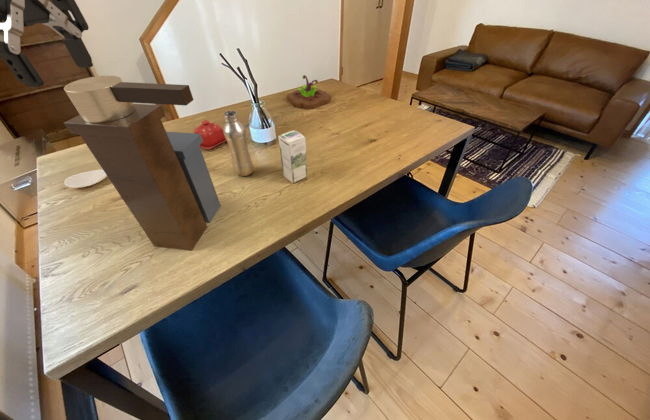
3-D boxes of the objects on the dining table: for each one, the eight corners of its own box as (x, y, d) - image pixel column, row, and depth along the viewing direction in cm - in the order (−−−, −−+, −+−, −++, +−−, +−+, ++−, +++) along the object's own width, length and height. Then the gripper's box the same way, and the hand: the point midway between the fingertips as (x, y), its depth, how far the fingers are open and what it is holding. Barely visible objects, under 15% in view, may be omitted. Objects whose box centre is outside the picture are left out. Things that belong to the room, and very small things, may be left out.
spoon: (180, 164, 94) (177, 155, 92) (68, 196, 82) (60, 187, 79) (175, 152, 100) (172, 144, 98) (69, 181, 87) (62, 172, 85)
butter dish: (208, 152, 100) (200, 131, 94) (190, 143, 105) (181, 122, 99) (233, 140, 106) (228, 119, 100) (215, 132, 111) (209, 111, 106)
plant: (312, 90, 146) (311, 67, 138) (336, 100, 135) (337, 76, 127) (280, 99, 136) (277, 75, 129) (304, 111, 125) (302, 86, 118)
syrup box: (297, 169, 91) (293, 128, 81) (308, 177, 88) (305, 135, 78) (282, 176, 89) (277, 134, 79) (293, 184, 85) (288, 142, 75)
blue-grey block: (212, 224, 73) (182, 151, 58) (170, 220, 74) (130, 147, 59) (224, 204, 78) (200, 133, 64) (185, 201, 80) (153, 130, 65)
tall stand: (194, 252, 66) (129, 127, 44) (148, 247, 67) (63, 122, 45) (211, 226, 72) (161, 105, 51) (169, 221, 74) (103, 102, 52)
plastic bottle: (240, 181, 87) (224, 120, 73) (231, 171, 90) (214, 112, 77) (258, 173, 90) (246, 114, 76) (248, 164, 93) (235, 106, 80)
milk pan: (183, 129, 43) (170, 97, 40) (71, 121, 46) (50, 90, 42) (206, 108, 49) (197, 79, 46) (105, 103, 51) (90, 74, 48)
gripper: (-3, -85, 34) (78, 62, 44) (-173, -106, 23) (-12, 93, 34) (52, -87, 33) (121, 63, 44) (-98, -110, 22) (42, 95, 33)
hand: (63, 76), depth 39 cm, fingers open, 8 cm apart
